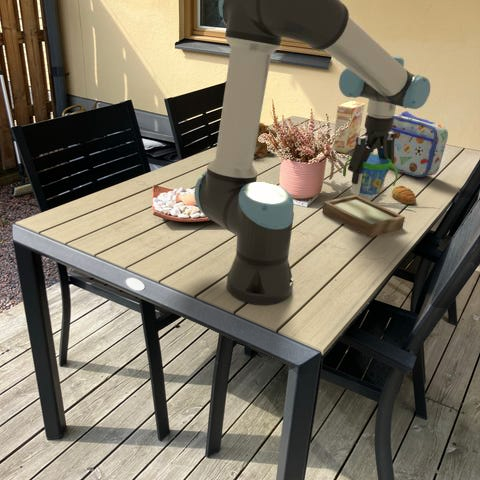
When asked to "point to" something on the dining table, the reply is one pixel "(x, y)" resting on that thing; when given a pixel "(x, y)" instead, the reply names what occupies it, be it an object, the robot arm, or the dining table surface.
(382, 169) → the snack cup
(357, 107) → the coffeecake box
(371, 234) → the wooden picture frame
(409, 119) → the lunch box
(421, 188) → the dining table surface
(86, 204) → the dining table surface
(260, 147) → the stuffed squirrel
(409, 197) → the pastry
